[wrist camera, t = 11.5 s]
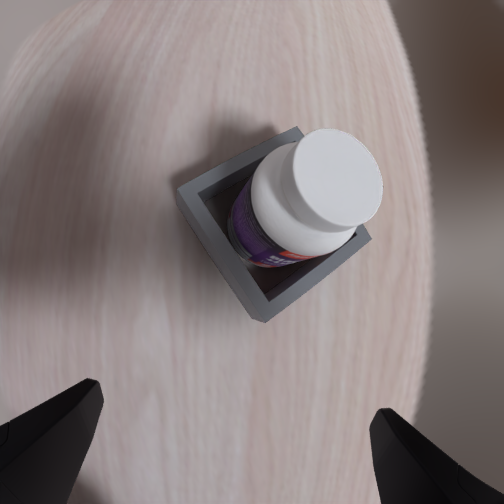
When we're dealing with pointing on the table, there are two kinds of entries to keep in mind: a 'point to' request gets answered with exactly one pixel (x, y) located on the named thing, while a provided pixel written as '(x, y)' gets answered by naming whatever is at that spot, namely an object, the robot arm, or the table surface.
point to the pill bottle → (305, 199)
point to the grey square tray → (225, 255)
